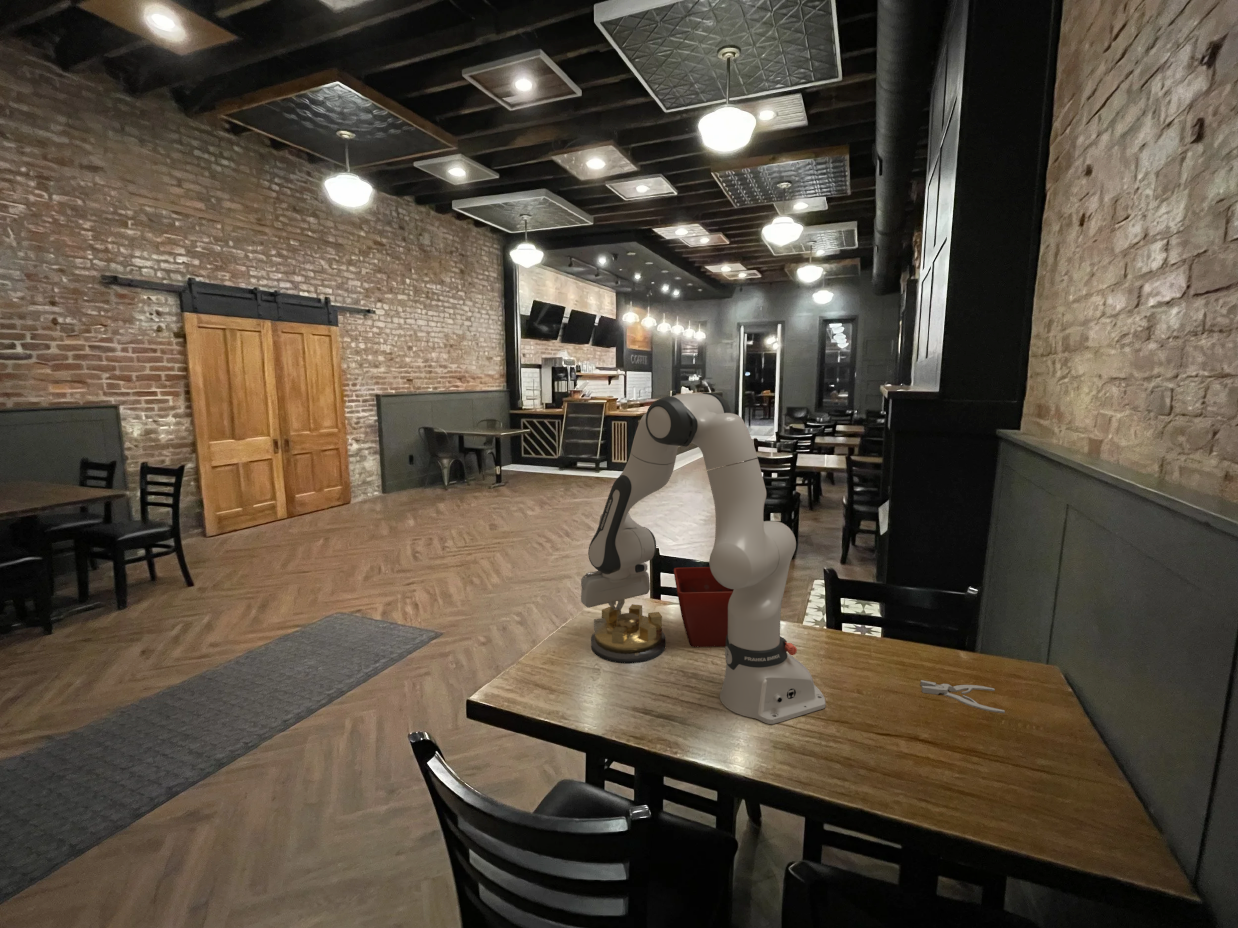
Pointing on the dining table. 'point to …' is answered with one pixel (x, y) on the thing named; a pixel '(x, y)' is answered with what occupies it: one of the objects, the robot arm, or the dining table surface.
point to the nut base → (628, 656)
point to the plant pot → (703, 606)
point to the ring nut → (628, 630)
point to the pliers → (943, 689)
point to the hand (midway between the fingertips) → (616, 614)
